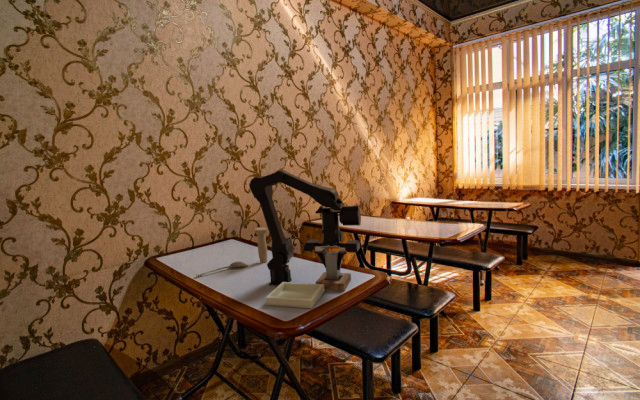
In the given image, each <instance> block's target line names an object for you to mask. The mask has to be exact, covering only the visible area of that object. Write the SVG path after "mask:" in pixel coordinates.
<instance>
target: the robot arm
mask: <svg viewBox="0 0 640 400" xmlns="http://www.w3.org/2000/svg"><path fill="white" fill-rule="evenodd" d="M279 183H281V184H283V185H286V186H288V187H290V188H292V189H295V190H297V191H299V192H301V193H303V194H306V195H308V196H309V197H311V198H312V199H313V201H315V202H316V203H318V204H319V205H320V206H319V207H318V209H316V210H315V214H317V215H318V214H321V225H322V229H321V234H322V242H320V240H319V239H311V238H310V239H308V240H307V241H306V242H305V243H304V244H303V250H304V251H305V252H313V251H314V250H315V251H314V254H316V255H317V256H318V257H319V259H320V261H321V262H322V264H323V266H324V269H326V262H325V254H326V253H327V252H328V249H338V250H339V251H337V252H338V253H337V254H338V270H340V271H341V267H342V264H343V260H344V257H345V255H347V254H348V253H357V252H358V251H359V250H361V249H360V248H361V243H360V241H359V240H357V239H355V240H354V239H352V240H351V239H347V241H346V242H344V231H341V227H340V224H341V225H343V226H346V227H347V226H350V227H351V226H361V224H362V223H361V222H362V214H361V210H360V205H359V204H355V205H345V203H344V202H343V200H341V199H340V198H339V192H338V191H337V190H336V189H335V188H331V187H327V186H322V185H319V184H318V185H317V184H314V183H312V182H311V181H308V180H305V179H303V178H301V177H299V176H297V175H294V174H293V173H290V172H288V171H286V169H281V170H279V169H278V170H276V171H275V172H273V173H270V174H267V175H263V176H255V177H253V178H251V180H250V181H249V185H248V186H249V189H250V192H251V194H252V195H253V197H254V198H255V200H256V201H257V202H258V203H259V206H260V208H261V209H260V210H261V211H262V215H263V218H264V220H265V223H266V226H267V227H266V228H267V231H268V232H269V236H270V238H271V254H272V255H271V256H272V258H271V259H270V260H269V261H267V262H266V266H267V268H268V270H269V275H270V282H269V283H268V285H269V286H279V285H280V284H281V283H282V282H291V281H292V280H293V279H292V276H291V269H290V266H289V263H290V260H291V259H292V258H293V256H294V255H295V247H294V245H293V240H292V239H291V238H290V239H287V238H286V236H285V233H284V232H283V228H282V225H281V222H280V219H279V216H278V213H277V209H276V206H275V203H274V201H273V193H274V192H273V191H274V189H273V186H276V185H277V184H279Z"/></svg>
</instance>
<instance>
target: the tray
mask: <svg viewBox="0 0 640 400" xmlns="http://www.w3.org/2000/svg"><path fill="white" fill-rule="evenodd" d="M325 291H326V290H324V284H316V283H304V282H291V281H290V282H282V283H281V284H280V285H277V287H276V288H274V289H273V290H272V291H271V292H270V293H269V294H268V295H266V296H265V305H266V306H271V307H272V306H273V307H285V308H286V307H287V308H298V309H311V310H312V309H313V308H314V307H315V305H316V304H317V303H318V302H319V300H320V299H321V297H322V296H323V294H324V293H325Z"/></svg>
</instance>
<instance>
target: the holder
mask: <svg viewBox="0 0 640 400" xmlns="http://www.w3.org/2000/svg"><path fill="white" fill-rule="evenodd" d="M340 274H341V279H340V281H331V280H327V279H326V271H325V272H323V273H321V275H320V276H319V278H317V280H316V281H315V284H324V291H338V292H339V291H340V292H345V291H346V289H347V288H348V286H349V284H350V283H351V281H352V274H351V273H350V272H349V273H348V272H340Z"/></svg>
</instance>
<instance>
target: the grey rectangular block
mask: <svg viewBox="0 0 640 400" xmlns="http://www.w3.org/2000/svg"><path fill="white" fill-rule="evenodd" d="M338 252H339V251H336V250H335V251H332V250H331V251H330V250H327V253H326V254H325V262H326V268H325V272H326V279H327V280H331V281H340V279H341V274H340V273H341V269H340V270H338V254H337V253H338Z"/></svg>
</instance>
